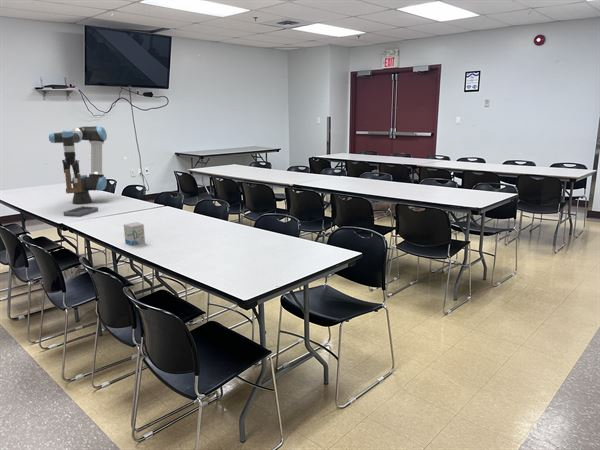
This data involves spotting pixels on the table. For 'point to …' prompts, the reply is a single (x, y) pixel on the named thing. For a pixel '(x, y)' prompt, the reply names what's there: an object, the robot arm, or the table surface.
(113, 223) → the table surface
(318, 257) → the table surface
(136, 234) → the ink box
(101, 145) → the robot arm
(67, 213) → the tray
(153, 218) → the table surface
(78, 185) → the brown tapered wooden part
